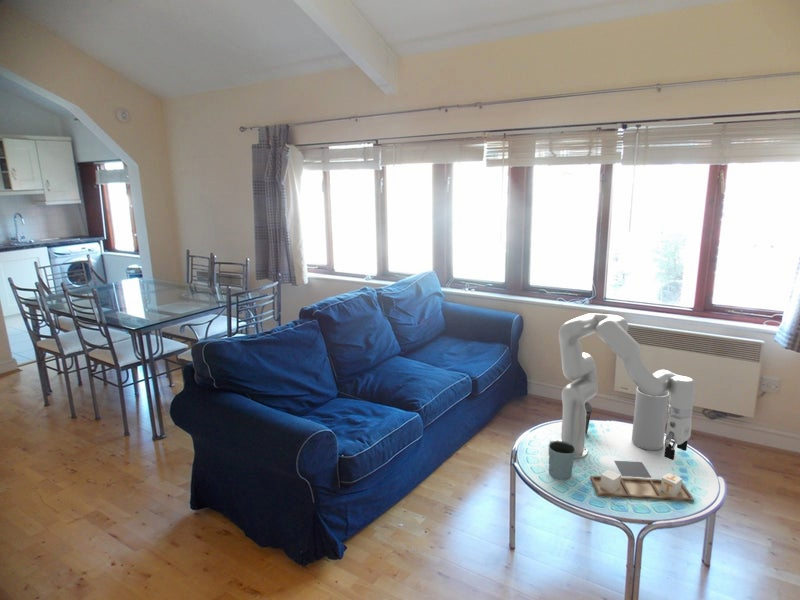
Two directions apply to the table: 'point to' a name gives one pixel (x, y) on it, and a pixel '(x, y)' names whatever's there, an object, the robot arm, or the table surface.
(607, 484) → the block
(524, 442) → the table surface
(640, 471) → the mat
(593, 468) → the table surface
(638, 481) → the tray board
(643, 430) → the cylinder vase
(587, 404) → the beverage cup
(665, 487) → the letter block
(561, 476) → the grey green pot
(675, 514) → the table surface
